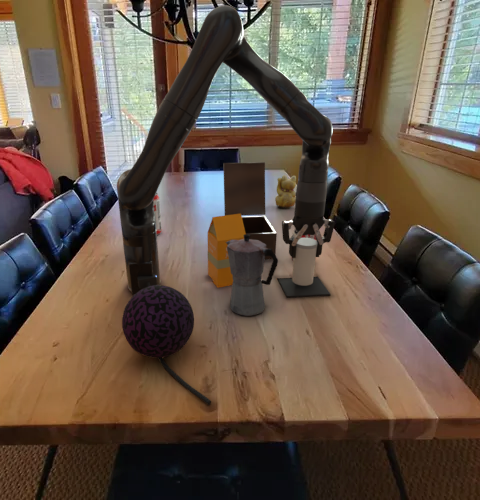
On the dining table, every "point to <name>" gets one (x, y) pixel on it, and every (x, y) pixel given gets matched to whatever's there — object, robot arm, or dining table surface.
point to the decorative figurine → (286, 192)
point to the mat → (303, 288)
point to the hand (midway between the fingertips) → (304, 256)
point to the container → (304, 261)
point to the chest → (261, 231)
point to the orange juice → (222, 247)
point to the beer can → (157, 213)
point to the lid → (244, 188)
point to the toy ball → (158, 321)
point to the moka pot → (248, 274)
